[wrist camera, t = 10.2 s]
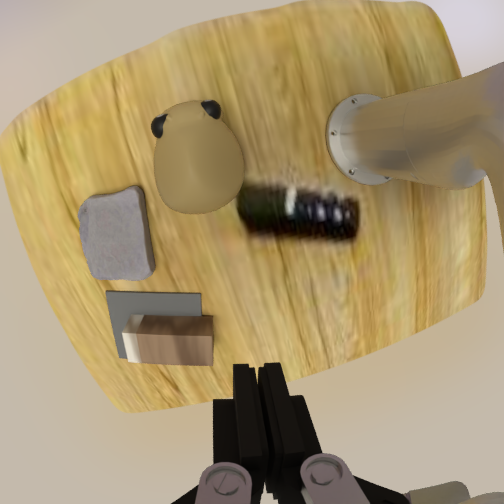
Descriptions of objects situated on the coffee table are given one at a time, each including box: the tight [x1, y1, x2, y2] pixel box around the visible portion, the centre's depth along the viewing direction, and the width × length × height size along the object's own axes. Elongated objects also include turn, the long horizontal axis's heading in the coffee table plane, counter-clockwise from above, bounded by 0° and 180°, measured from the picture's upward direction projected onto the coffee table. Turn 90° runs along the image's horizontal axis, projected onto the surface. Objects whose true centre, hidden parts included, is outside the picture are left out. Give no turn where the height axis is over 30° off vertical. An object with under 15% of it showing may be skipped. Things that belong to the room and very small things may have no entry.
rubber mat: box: [106, 291, 202, 359], centre depth 41 cm, size 14×12×1 cm
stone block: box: [78, 186, 155, 281], centre depth 35 cm, size 12×5×10 cm
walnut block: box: [122, 314, 214, 366], centre depth 39 cm, size 5×5×12 cm
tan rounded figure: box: [151, 100, 244, 214], centre depth 30 cm, size 10×12×11 cm
